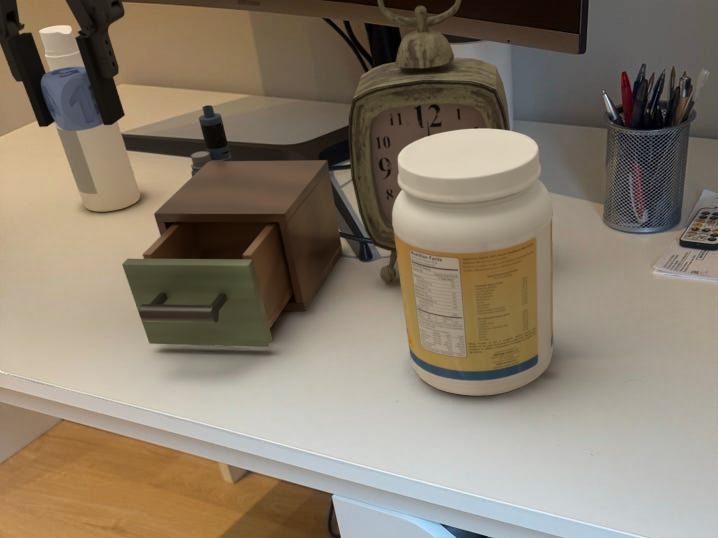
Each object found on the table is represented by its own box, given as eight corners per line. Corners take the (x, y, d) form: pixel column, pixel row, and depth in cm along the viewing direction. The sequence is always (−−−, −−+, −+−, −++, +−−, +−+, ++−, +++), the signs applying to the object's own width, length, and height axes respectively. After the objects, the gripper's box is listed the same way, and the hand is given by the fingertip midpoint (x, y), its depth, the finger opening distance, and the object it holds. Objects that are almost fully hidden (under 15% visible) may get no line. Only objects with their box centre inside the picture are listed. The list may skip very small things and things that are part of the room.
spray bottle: (106, 190, 114) (49, 20, 101) (152, 193, 112) (99, 21, 99) (72, 210, 109) (8, 36, 97) (119, 214, 108) (60, 37, 95)
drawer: (253, 369, 77) (231, 286, 72) (130, 365, 79) (100, 284, 74) (309, 284, 89) (293, 207, 83) (200, 283, 90) (178, 207, 85)
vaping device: (252, 222, 103) (224, 104, 95) (219, 239, 100) (187, 119, 92) (236, 218, 104) (207, 102, 96) (203, 235, 101) (170, 116, 93)
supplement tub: (446, 323, 83) (427, 119, 71) (572, 340, 79) (575, 128, 67) (387, 389, 75) (354, 174, 63) (523, 412, 72) (516, 187, 60)
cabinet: (305, 311, 87) (285, 213, 80) (182, 309, 88) (153, 213, 82) (342, 252, 96) (327, 160, 89) (231, 251, 98) (208, 161, 91)
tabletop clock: (368, 292, 89) (321, -18, 71) (377, 254, 95) (335, -40, 77) (516, 284, 88) (505, -32, 70) (514, 246, 94) (504, -52, 76)
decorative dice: (70, 134, 78) (51, 82, 76) (53, 125, 81) (34, 74, 78) (113, 122, 80) (96, 70, 77) (95, 114, 82) (79, 63, 79)
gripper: (-193, -230, 63) (-34, 137, 79) (50, -254, 60) (162, 132, 76) (-126, -235, 68) (10, 111, 84) (101, -258, 65) (195, 105, 81)
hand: (82, 120), depth 80 cm, fingers closed on decorative dice, 5 cm apart
